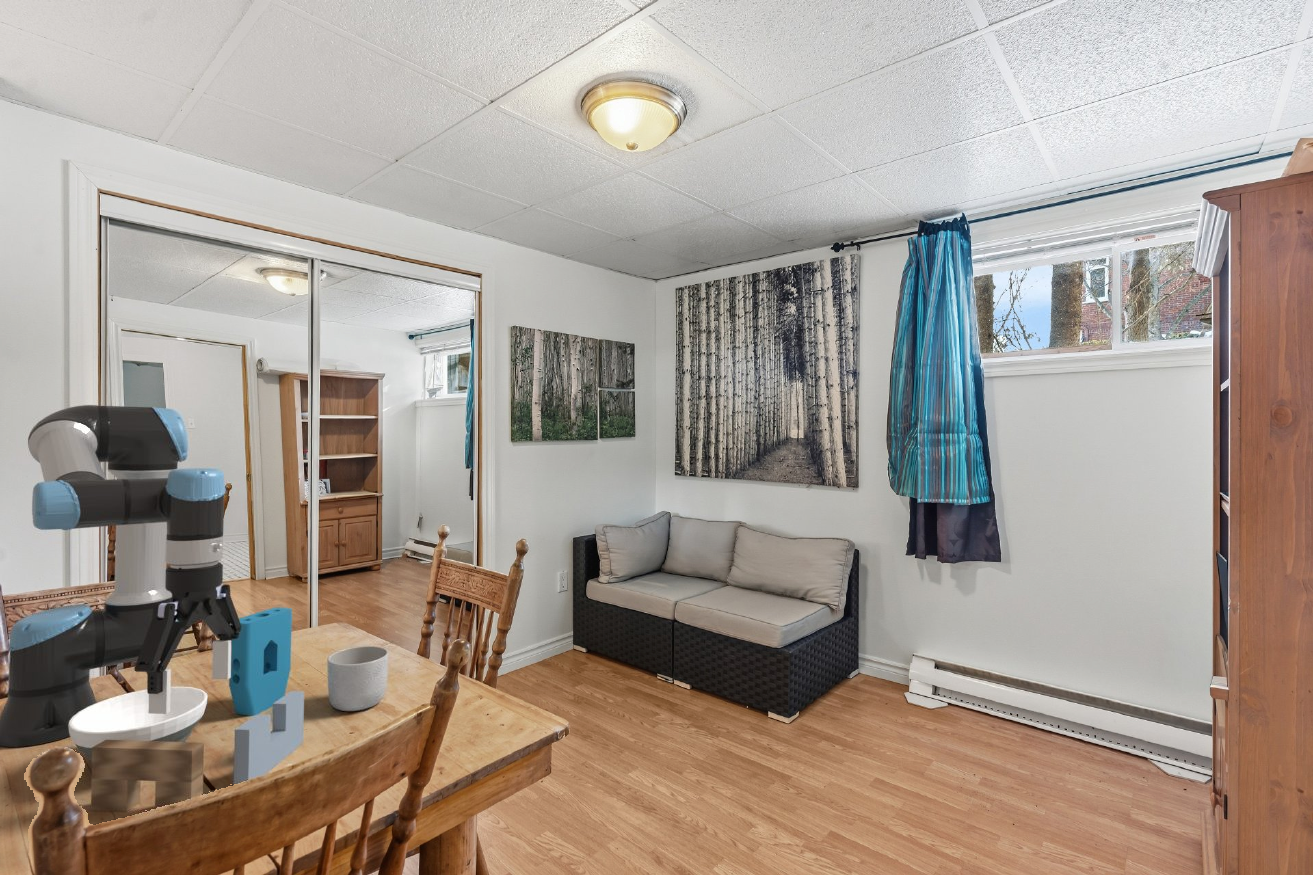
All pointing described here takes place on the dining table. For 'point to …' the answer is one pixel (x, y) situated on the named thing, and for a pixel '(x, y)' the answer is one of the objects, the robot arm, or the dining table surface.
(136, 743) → the wooden blocks
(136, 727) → the bowl
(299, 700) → the slot stand
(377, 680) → the planter
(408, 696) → the dining table surface
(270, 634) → the block
